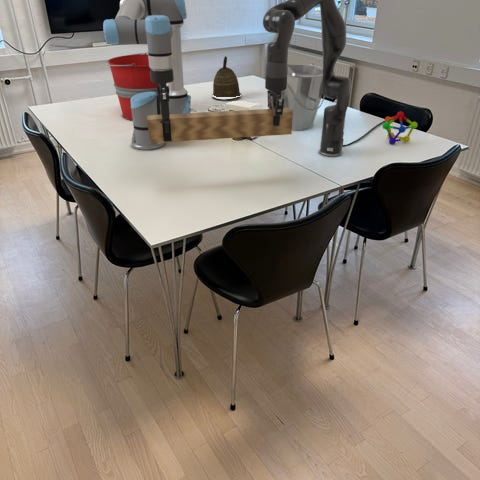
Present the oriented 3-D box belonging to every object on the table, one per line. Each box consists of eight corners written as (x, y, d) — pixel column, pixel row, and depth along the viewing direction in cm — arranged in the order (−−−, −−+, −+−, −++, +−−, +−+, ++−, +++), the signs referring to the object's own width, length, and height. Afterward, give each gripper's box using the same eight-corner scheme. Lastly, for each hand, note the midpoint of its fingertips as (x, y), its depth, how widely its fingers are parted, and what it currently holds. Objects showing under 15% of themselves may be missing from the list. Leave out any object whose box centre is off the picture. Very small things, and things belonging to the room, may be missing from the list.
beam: (149, 143, 154) (147, 119, 149) (149, 138, 158) (146, 115, 153) (291, 134, 162) (293, 111, 158) (287, 129, 166) (289, 107, 162)
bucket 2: (296, 138, 215) (301, 78, 201) (255, 124, 234) (256, 68, 219) (335, 125, 232) (342, 70, 217) (294, 113, 251) (297, 61, 236)
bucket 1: (122, 105, 263) (114, 51, 248) (180, 106, 263) (177, 52, 247) (105, 123, 234) (95, 63, 218) (171, 124, 233) (166, 64, 217)
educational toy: (377, 146, 209) (379, 114, 202) (384, 138, 219) (386, 107, 211) (411, 149, 202) (415, 116, 195) (417, 141, 212) (420, 109, 204)
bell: (227, 105, 294) (202, 96, 282) (238, 66, 289) (213, 55, 277) (243, 108, 280) (217, 98, 268) (255, 66, 275) (229, 55, 263)
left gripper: (174, 74, 137) (179, 146, 149) (171, 63, 152) (175, 129, 164) (150, 75, 136) (157, 147, 148) (149, 63, 151) (155, 130, 163)
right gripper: (293, 78, 147) (289, 128, 156) (281, 69, 159) (278, 116, 168) (271, 79, 146) (269, 130, 155) (261, 70, 157) (259, 118, 167)
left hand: (167, 137), depth 156 cm, fingers closed on beam, 5 cm apart
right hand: (274, 123), depth 161 cm, fingers closed on beam, 5 cm apart
